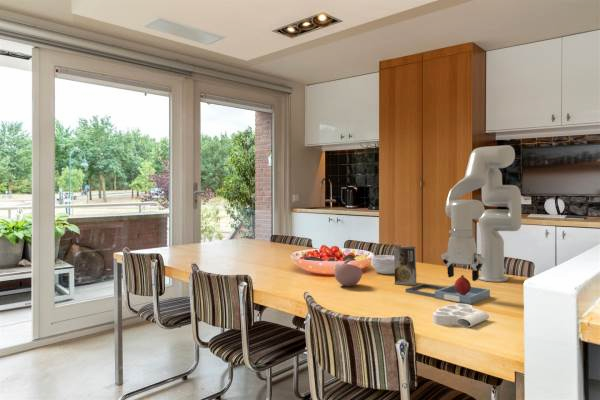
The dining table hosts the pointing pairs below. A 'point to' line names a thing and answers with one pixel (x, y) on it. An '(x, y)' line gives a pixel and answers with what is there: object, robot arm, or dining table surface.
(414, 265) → the coffee box
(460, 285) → the onion
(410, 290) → the bracket
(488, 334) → the dining table surface
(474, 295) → the tray
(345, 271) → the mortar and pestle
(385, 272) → the paper bowls
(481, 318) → the white multi-well holder
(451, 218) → the robot arm
